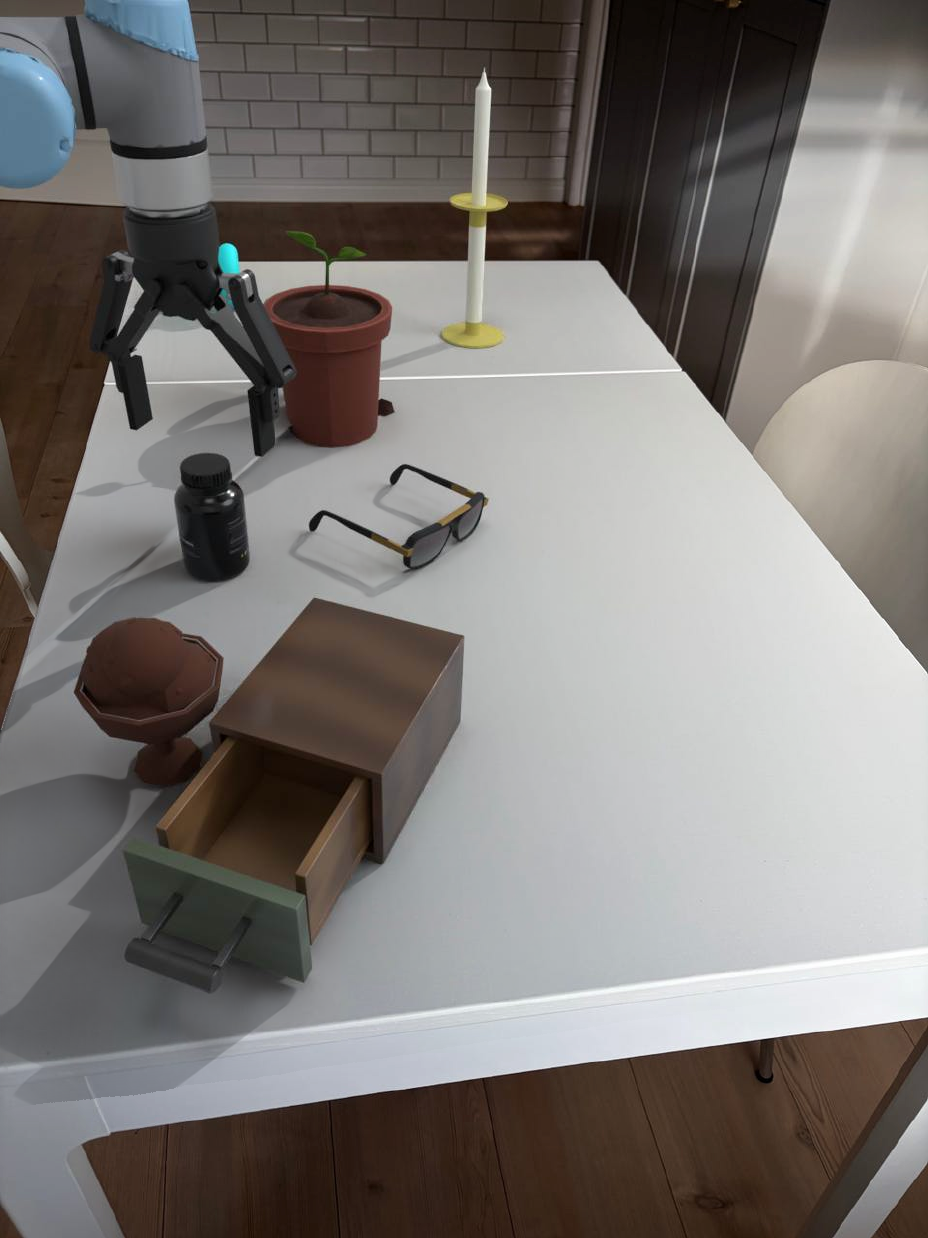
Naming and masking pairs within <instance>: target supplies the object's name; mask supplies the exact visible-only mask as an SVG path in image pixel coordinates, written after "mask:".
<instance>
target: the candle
mask: <svg viewBox="0 0 928 1238" xmlns="http://www.w3.org/2000/svg"><path fill="white" fill-rule="evenodd" d="M487 78H488V77H487V72H486V67H484V68H483V72H482V74H481V78H480V81H479V83H478V85H477V86H476V88H475V99H474V102H475V103H474V123H473V125H474V126H473V127H474V128H473V149H472V150H473V151H472V152H473V154H472V175H471V177H472V178H471V192H465V193H459V194H455V195H452V196H451V197H450V198H449V203H450V205H451V206H452V207H454V208H456V209H460V210H464V211H469V218H468V219H469V222H468V242H467V243H468V246H467V247H468V248H467V269H466V270H467V273H466V296H465V298H466V299H465V321H464V322H457V323H453V324H450V325H447V326H446V327H444V328H443V330H442V331H441V332H440V333H441V338H442V340H443V341H445V342H446V343H448V344H450V345H452V346H456V347H459V348H467V349H486V348H490V347H491V348H492V347H496V346H497V345H499V344H501V343H502V342H503V341H504V339H505V334H504V332H503V330H502V329H500V328H498V327H496V326H494V325H492V324H488V323H483V322H482V319H483V318H482V317H483V298H484V297H483V296H484V276H485V257H486V256H485V255H486V235H487V217H488V216H487V215H488V212H489V213H490V212H497V211H500V210H503V209H506V207H507V206H508V204H509V202H508V200H507V199H506V198H504V197H503V196H500V195H497V194H492V193H487V191H488V189H487V187H488V168H489V167H488V166H489V165H488V164H489V149H490V148H489V147H490V146H489V145H490V127H491V126H490V125H491V106H492V105H491V104H492V88H491V87H490V85H489V82H488V79H487Z"/></svg>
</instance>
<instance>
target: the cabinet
mask: <svg viewBox="0 0 928 1238" xmlns="http://www.w3.org/2000/svg"><path fill="white" fill-rule="evenodd" d="M464 655H465V635H463V634H459V633H456V632H452V631H449V630H448V631H447V630H444V629H439V628H435V627H433V626H428V625H424V624H419V623H415V622H412V621H408V620H404V619H401V618H396V617H392V616H390V615H389V616H388V615H384V614H381V613H377V612H373V611H370V610H366V609H361V608H357V607H354V606H349V605H345V604H342V603H338V602H334V601H330V600H326V599H323V598H319V597H316V596H315V597H313V598H312V599H311V601H309V603H308V604H307V605H306V606H305V607H304V609H303V610H302V611H301V612H300V613H299V615H298V616H297V617H296V618H295V619H294V620H293V622H292V623H291V624H290V625H289V626H288V627H287V629H286V630H285V631H284V632H283V634H282V635H280V637H279V638H278V640H277V641H276V642H275V643H274V644H273V645H272V647H271V648H270V649H269V650H268V651H267V653H266V654H265V655H264V656H263V657H262V659H261V660H260V661H259V662H258V663H257V665H255V667H254V668H253V669H252V670H251V671H250V673H249V674H248V675H247V676H246V678H245V679H244V680H243V681H242V682H241V684H240V685H239V686H238V687H237V688H236V690H234V692H232V694H231V695H230V697H229V698H228V699H227V700H226V701H225V702H224V704H223V705H222V706H221V708H219V710H218V711H217V712H216V713H215V714H214V715H213V716H212V718H210V720H209V722H208V726H209V733H210V737H211V745H212V749H213V750H212V751H213V754H214V753H215V752H216V751H217V749H218V748H219V747H220V746H221V744H222V743H223V742H224V741H225V739H226V738H227V737H228V736H231V737H235V738H238V739H241V740H244V741H248V742H251V743H254V744H258V745H261V746H264V747H268V748H271V749H274V750H278V751H281V752H284V753H287V754H291V755H294V756H297V757H301V758H304V759H307V760H311V761H314V762H317V763H321V764H324V765H327V766H330V767H334V768H337V769H340V770H344V771H347V772H350V773H354V774H357V775H360V776H364V777H367V778H370V779H372V805H373V839H372V841H371V842H370V844H369V846H368V848H367V849H366V851H365V853H364V855H363V857H362V858H364V859H367V860H369V861H373V862H376V863H378V864H379V863H380V864H382V865H383V864H385V863H386V860H387V858H388V856H389V855H390V853H391V851H392V849H393V847H394V846H395V843H396V842H397V840H398V839H399V836H400V834H401V832H402V831H403V829H404V828H405V825H406V823H407V821H408V820H409V818H410V816H411V814H412V812H413V810H414V808H416V805H417V803H418V801H419V800H420V797H421V795H422V794H423V792H424V790H425V788H426V787H427V784H428V783H429V781H430V780H431V777H432V776H433V773H434V772H435V770H436V768H437V767H438V764H439V762H440V761H441V758H442V757H443V756H444V753H445V751H446V749H447V747H448V745H449V744H450V742H451V740H452V738H453V737H454V735H455V733H456V731H457V729H458V727H459V726H460V723H461V719H462V698H463V678H464V677H463V676H464V657H465V656H464Z"/></svg>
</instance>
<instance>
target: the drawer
mask: <svg viewBox="0 0 928 1238" xmlns="http://www.w3.org/2000/svg"><path fill="white" fill-rule="evenodd" d="M154 828H155V832H156V836H157V841H158V844H156V843H153V842H150V841H147V840H145V839H141V838H138V837H135V836H132V837H131V839H130V840H129V841H128V842H127V844H126V845H125V846H124V847H123V849H122V854H123V857H124V861H125V865H126V868H127V872H128V876H129V880H130V884H131V888H132V892H133V896H134V898H135V903H136V906H137V911H138V913H139V917H140V918H139V919H140V921H141V924H143V925H144V926H147V927H148V928H146V930H145V931H144V933H143V934H142V936H141V938H140V937H134V938H132V939H131V940H130V941H129V943H128V944H127V946H126V948H125V951H124V955H123V956H124V961H125V962H126V963H128V964H131V965H134V966H137V967H139V968H142V969H144V970H147V971H150V972H152V973H155V974H157V975H161V976H163V977H166V978H167V979H171V980H174V981H176V982H178V983H181V984H184V985H187V986H189V987H192V988H194V989H197V990H200V991H203V992H205V993H208V994H211V995H212V994H214V993H216V992H217V990H219V988H220V986H221V983H222V981H223V978H224V971H223V970H224V968H225V967H226V966H227V964H228V962H229V961H230V960H231V958H235V959H237V960H240V961H243V962H245V963H248V964H251V965H254V966H256V967H259V968H261V969H264V970H267V971H270V972H273V973H275V974H278V975H281V976H284V977H286V978H289V979H292V980H294V981H298V982H300V983H303V984H305V982H306V981H307V979H308V977H309V975H310V973H311V972H312V970H313V961H312V953H311V952H312V951H311V946H313V945H314V943H315V941H316V939H317V938H318V936H319V935H320V933H321V931H322V929H323V927H324V926H325V924H326V922H327V920H328V919H329V917H330V915H331V913H332V911H333V910H334V907H335V906H336V904H337V902H338V900H339V899H340V897H341V896H342V894H343V892H344V890H345V889H346V886H347V884H348V883H349V881H350V879H351V878H352V876H353V874H354V872H355V871H356V869H357V867H358V866H359V863H360V862H361V860H362V858H363V855H364V853H365V851H366V849H367V848H368V846H369V844H370V842H371V841H372V839H373V805H372V779H370V778H367V777H364V776H360V775H357V774H354V773H350V772H347V771H344V770H340V769H337V768H334V767H330V766H327V765H324V764H321V763H317V762H314V761H311V760H307V759H304V758H301V757H297V756H294V755H291V754H287V753H284V752H281V751H278V750H274V749H271V748H268V747H264V746H261V745H258V744H254V743H251V742H248V741H244V740H241V739H238V738H235V737H231V736H228V737H227V738H226V739H225V741H224V742H223V743H222V744H221V746H220V747H219V748H218V749H217V751H216V752H215V753H214V752H213V754H212V756H211V757H210V758H209V759H208V761H207V762H206V763H205V764H204V765H203V766H202V768H200V770H199V772H198V773H197V774H196V775H195V777H194V778H193V779H192V781H190V783H189V784H188V785H187V787H186V788H185V789H184V791H183V792H182V793H181V794H180V795H179V796H178V798H177V799H176V800H175V802H174V803H173V804H172V805H171V806H170V808H169V809H168V810H167V811H166V813H165V814H164V815H163V817H162V818H161V819H160V820H159V821H158V823H157V824H156V825H155V827H154ZM161 932H163V933H166V934H168V935H172V936H175V937H177V938H180V939H183V940H185V941H188V942H190V943H193V944H196V945H198V946H202V947H204V948H207V949H209V950H211V951H216V952H217V953H218V954H217V955H216V957H215V959H214V960H213V961H212V963H211V964H210V963H207V962H205V961H202V960H199V959H197V958H194V957H192V956H188V955H186V954H183V953H181V952H178V951H175V950H172V949H170V948H167V947H164V946H163V945H159V944H156V943H154V942H155V940H156V939H157V937H158V936H159V935H160V934H161Z"/></svg>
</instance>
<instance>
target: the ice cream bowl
mask: <svg viewBox="0 0 928 1238" xmlns="http://www.w3.org/2000/svg"><path fill="white" fill-rule="evenodd" d="M91 639H92V640H91V641H90V644H89V645H88V646H87V647H86V652H85V653H86V655H85V657H84V660H83V662H82V665H81V669H80V671H79V675H78V678H77V681H76V684H75V687H74V690H73V694H74V695H75V697H76V699H77V701H78V703H79V704H80V706H81V707H82V709H83V710H84V711H85V713H87V714H88V715H89V717H90V718H91V719H92V720H93V722H94V723H95V724H96V726H97V727H98V728H99V729H100V730H101V731H103V733H104V734H106V735H107V736H108V737H109V738H115V739H119V740H124V741H130V742H134V743H140V744H144V746H143V747H142V748H140V749H139V750H137V754H136V759H135V763H134V767H133V773H135V775H136V776H137V777H138V778H139V780H140V781H141V782H142V783H143V784H144V785H149V786H154V787H161V788H166V787H171V786H174V785H178V784H182V783H185V782H187V781H188V780H189V779H191V777H193V776H194V775H195V774H196V773H197V772H198V771H200V770H201V769H202V768H201V767H202V762H203V761H202V760H203V751H202V750H201V748H200V747H199V746H198V745H197V743H195V742H194V741H193V740H192V738H190V737H185V736H186V735H187V734H188V733H189V732H190V731H192V730H193V729H194V728H195V727H196V726H198V725H199V724H200V723H201V722H202V721H204V720H205V719H206V718H207V717H209V715H211V714H212V713H213V712H214V710H215V708H216V706H217V704H218V702H219V697H220V689H221V683H222V676H223V669H224V659H225V658H224V657H223V655H221V654H220V652H218V651H217V649H215V648H214V647H213V646H212V645H211V644H210V643H209V642H208V641H207V640H206V639H205V638H203V636H201V635H195V634H190V633H183V631H182V630H181V629H179V628H178V627H177V626H175V625H174V624H173V623H171V622H170V621H166V620H161V619H159V618H156V617H140V616H139V617H129V618H125V619H120V620H117V621H114V622H113V623H111V624H110V625H108V626H107V627H105V628H104V629H102V630H101V631H100V632H99V633H97V634H96V635H95V636H93V638H91ZM145 744H146V745H145Z"/></svg>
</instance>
